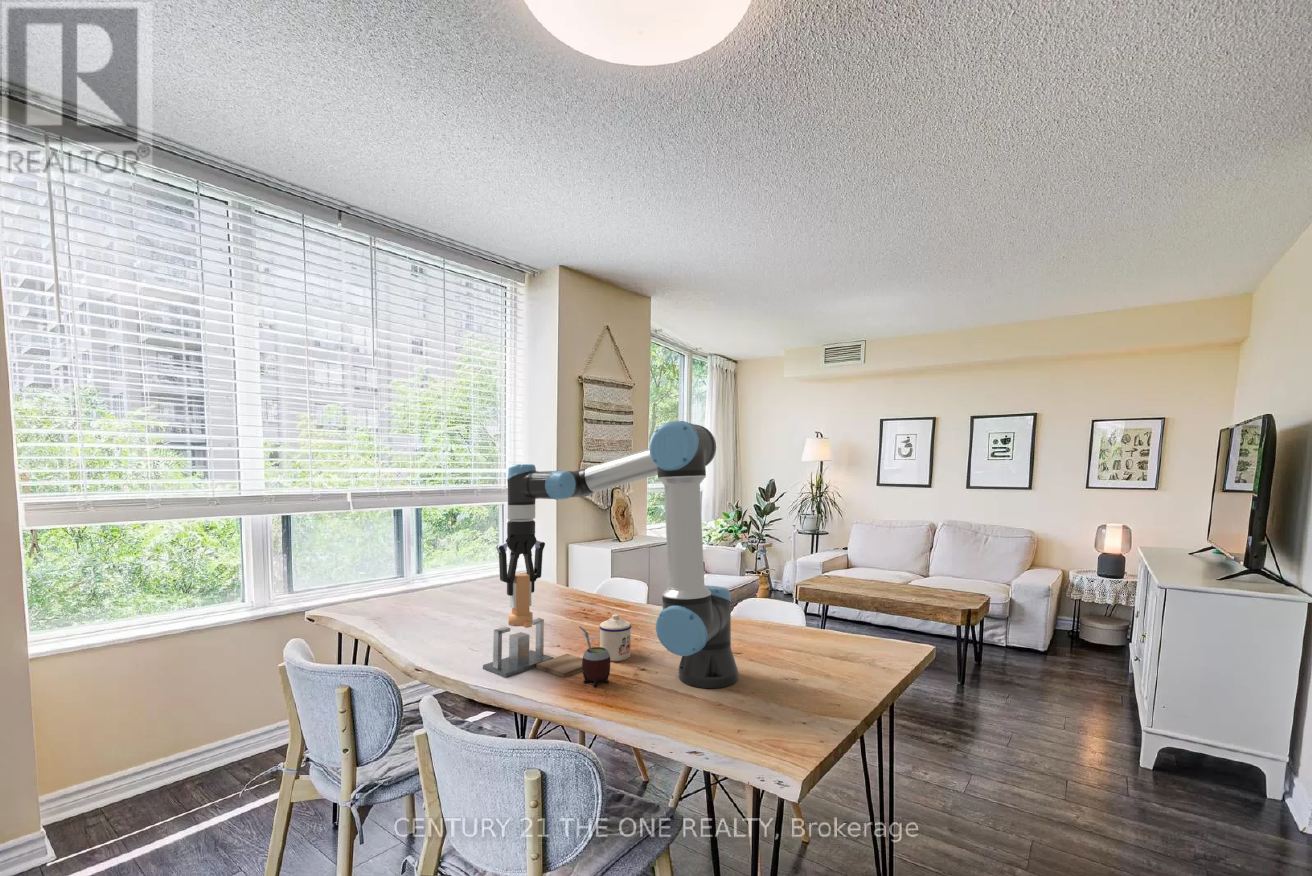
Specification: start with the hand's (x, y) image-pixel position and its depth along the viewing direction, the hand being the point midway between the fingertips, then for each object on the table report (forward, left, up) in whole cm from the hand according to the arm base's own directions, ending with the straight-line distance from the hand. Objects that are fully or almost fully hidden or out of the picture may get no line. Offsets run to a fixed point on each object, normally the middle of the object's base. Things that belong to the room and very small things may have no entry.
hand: (520, 606), depth 152 cm
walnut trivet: (-11, -7, -16) cm, 20 cm away
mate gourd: (-25, -4, -16) cm, 30 cm away
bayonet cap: (0, 0, -5) cm, 5 cm away
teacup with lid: (-15, -23, -16) cm, 32 cm away
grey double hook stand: (0, 0, -16) cm, 16 cm away
